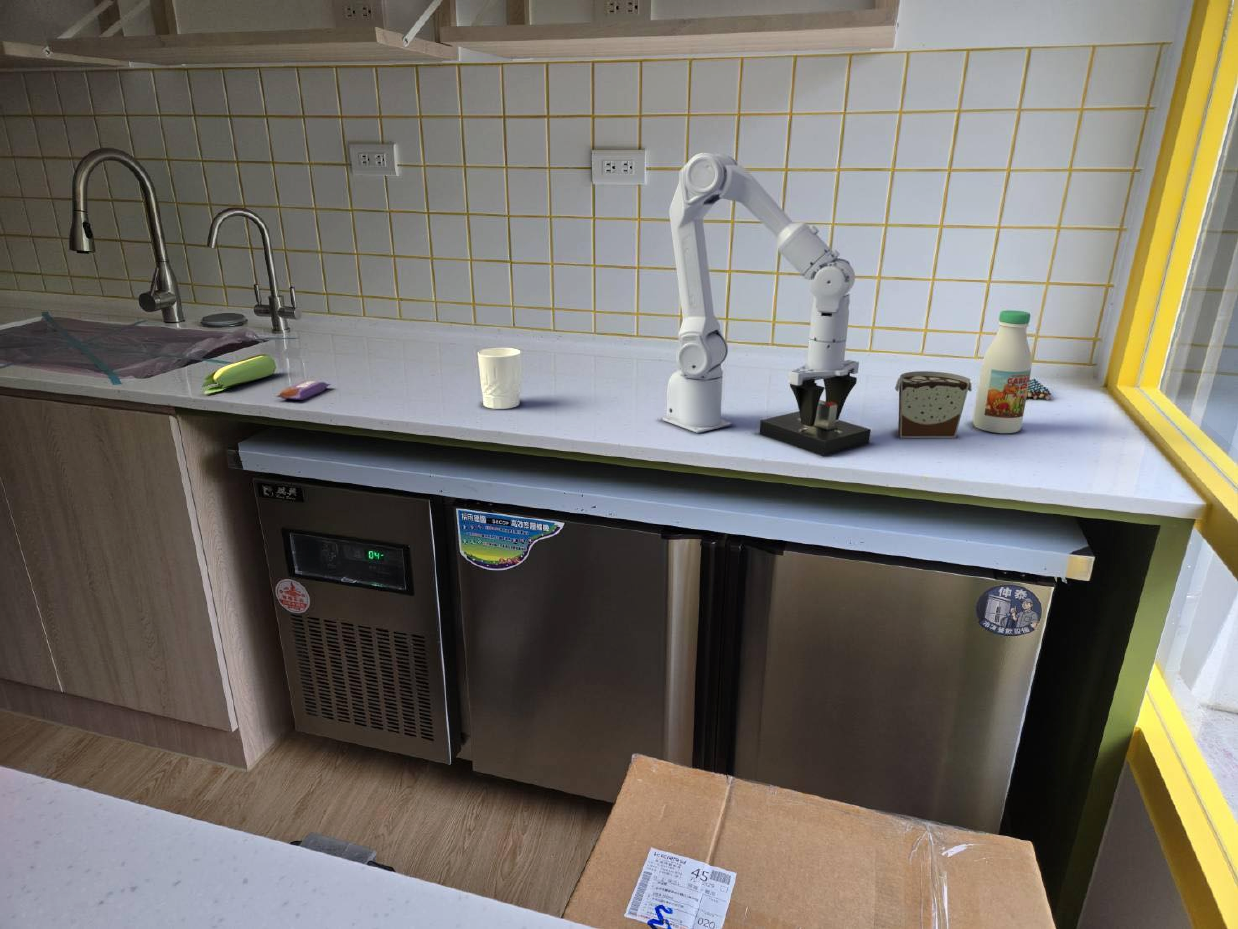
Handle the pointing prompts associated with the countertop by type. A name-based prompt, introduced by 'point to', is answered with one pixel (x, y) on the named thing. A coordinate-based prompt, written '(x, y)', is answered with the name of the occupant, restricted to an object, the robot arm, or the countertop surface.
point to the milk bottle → (1004, 376)
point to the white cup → (500, 377)
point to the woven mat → (1037, 390)
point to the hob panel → (814, 434)
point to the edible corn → (241, 372)
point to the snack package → (303, 390)
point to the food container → (930, 404)
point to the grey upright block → (826, 415)
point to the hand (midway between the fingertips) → (819, 421)
